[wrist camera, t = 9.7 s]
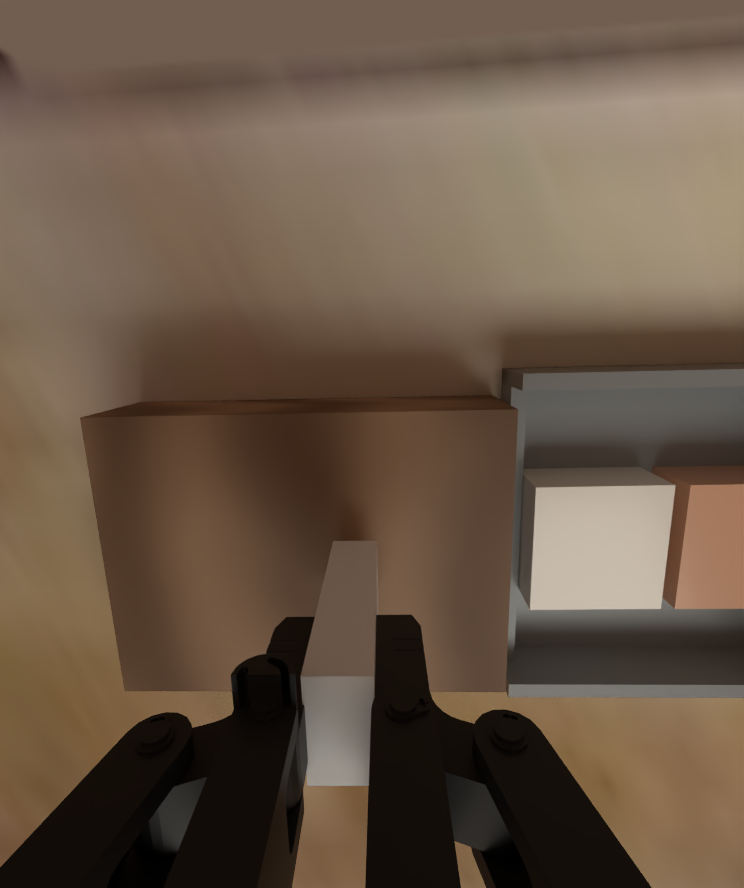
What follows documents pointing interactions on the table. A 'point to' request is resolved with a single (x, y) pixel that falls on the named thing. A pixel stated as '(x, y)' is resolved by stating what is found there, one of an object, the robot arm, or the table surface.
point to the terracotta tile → (705, 537)
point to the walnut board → (302, 526)
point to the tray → (624, 445)
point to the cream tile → (594, 538)
